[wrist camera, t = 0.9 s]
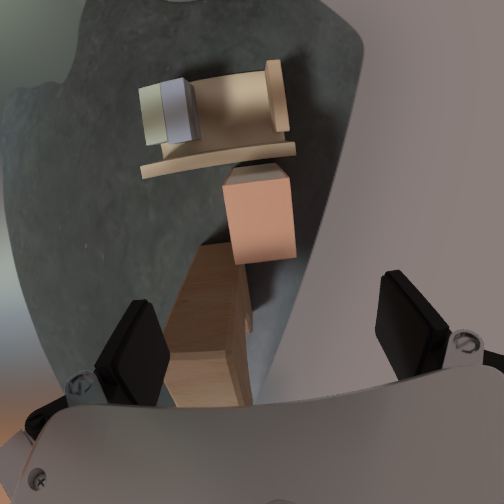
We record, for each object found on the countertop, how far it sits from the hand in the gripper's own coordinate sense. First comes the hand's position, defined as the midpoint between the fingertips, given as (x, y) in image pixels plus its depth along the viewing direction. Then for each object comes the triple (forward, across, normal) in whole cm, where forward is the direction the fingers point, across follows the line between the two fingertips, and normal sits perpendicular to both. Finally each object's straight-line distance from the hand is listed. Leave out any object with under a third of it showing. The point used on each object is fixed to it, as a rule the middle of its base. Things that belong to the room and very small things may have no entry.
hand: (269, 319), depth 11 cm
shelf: (+24, +4, -10) cm, 26 cm away
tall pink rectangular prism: (+24, 0, 0) cm, 24 cm away
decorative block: (+24, +5, +11) cm, 27 cm away
